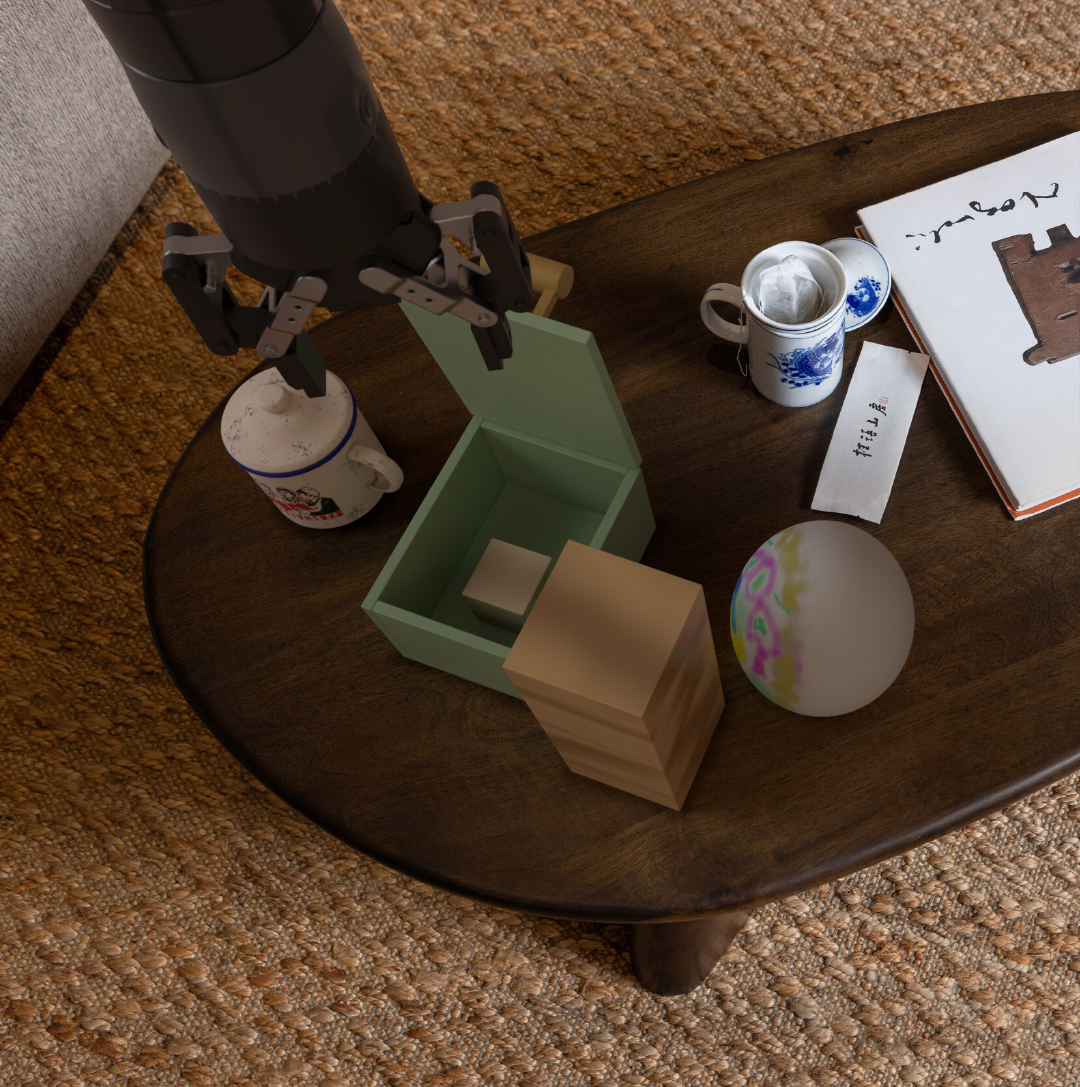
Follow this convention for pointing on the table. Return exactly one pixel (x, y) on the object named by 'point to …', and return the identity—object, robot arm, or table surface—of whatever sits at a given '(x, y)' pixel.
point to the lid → (535, 372)
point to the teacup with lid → (308, 450)
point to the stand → (621, 673)
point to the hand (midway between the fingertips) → (407, 369)
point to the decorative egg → (822, 618)
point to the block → (507, 584)
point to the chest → (505, 514)
